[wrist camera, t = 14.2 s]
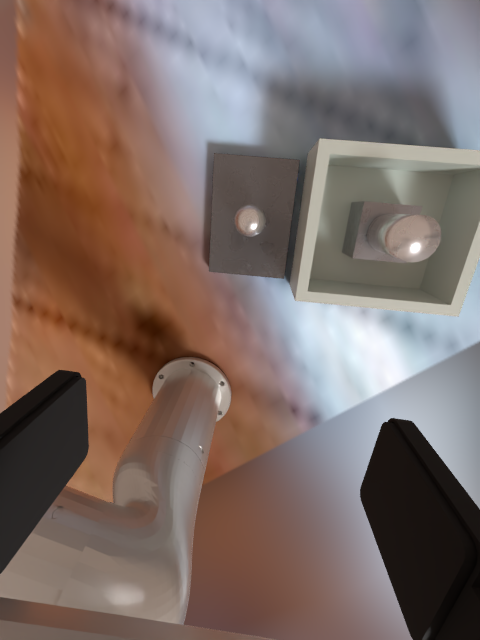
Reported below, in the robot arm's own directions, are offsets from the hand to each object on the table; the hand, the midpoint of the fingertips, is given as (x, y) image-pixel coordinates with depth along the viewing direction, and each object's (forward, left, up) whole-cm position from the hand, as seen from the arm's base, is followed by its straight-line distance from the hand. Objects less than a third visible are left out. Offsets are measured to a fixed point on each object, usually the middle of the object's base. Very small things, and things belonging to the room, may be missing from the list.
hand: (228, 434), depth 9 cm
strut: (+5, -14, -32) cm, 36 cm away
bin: (+5, -14, -33) cm, 37 cm away
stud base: (+5, +1, -33) cm, 34 cm away
